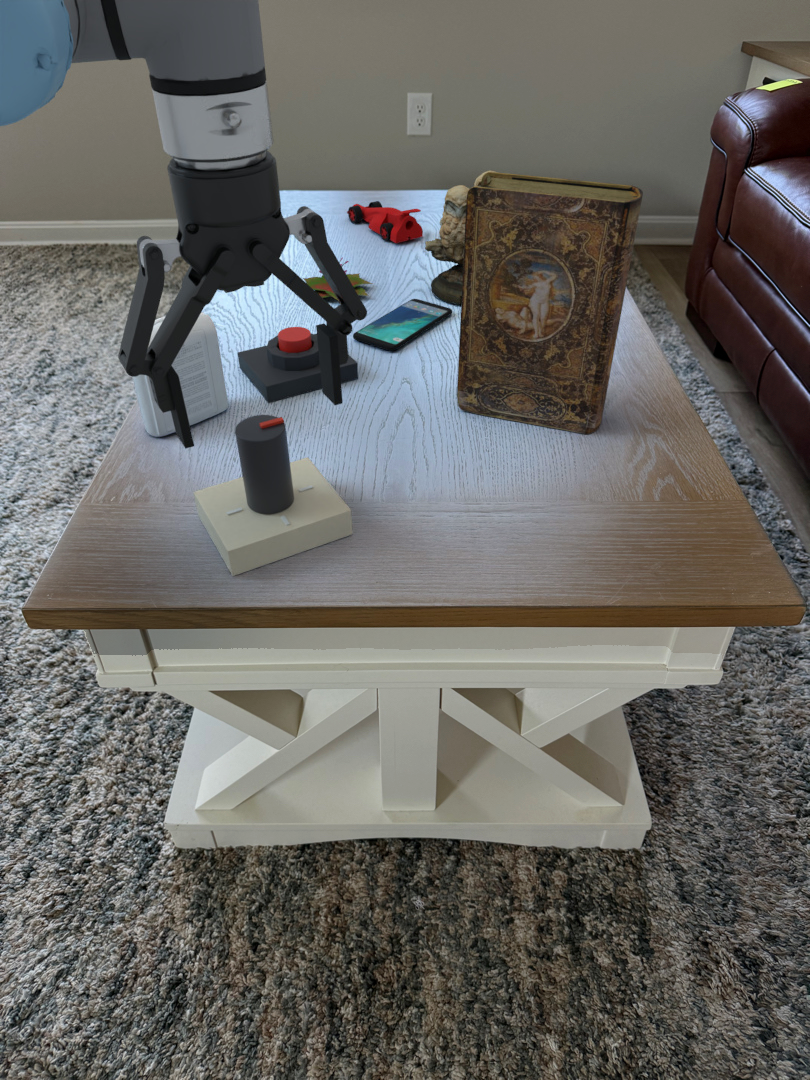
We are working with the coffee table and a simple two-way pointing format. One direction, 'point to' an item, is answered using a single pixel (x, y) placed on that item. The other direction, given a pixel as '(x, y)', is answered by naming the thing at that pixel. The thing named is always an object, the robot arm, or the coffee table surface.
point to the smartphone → (402, 324)
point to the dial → (265, 463)
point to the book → (543, 297)
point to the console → (273, 520)
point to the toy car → (387, 221)
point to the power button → (294, 339)
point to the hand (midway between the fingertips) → (261, 418)
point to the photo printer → (188, 380)
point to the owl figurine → (451, 244)
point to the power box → (288, 370)
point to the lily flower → (325, 290)
